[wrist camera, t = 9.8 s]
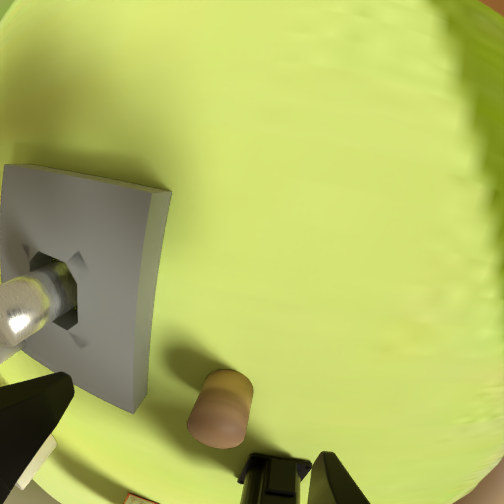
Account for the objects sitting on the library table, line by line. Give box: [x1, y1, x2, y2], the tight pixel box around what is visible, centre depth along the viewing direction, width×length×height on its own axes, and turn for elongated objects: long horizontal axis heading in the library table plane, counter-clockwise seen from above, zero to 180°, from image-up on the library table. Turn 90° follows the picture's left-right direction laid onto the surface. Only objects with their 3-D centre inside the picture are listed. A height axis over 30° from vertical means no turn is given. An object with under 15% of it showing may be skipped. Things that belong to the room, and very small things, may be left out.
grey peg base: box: [0, 164, 172, 414], centre depth 17 cm, size 18×16×9 cm
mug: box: [15, 434, 57, 490], centre depth 23 cm, size 10×7×12 cm, turn 3°
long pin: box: [0, 260, 78, 348], centre depth 17 cm, size 4×4×9 cm
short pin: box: [187, 369, 253, 449], centre depth 19 cm, size 4×4×5 cm
